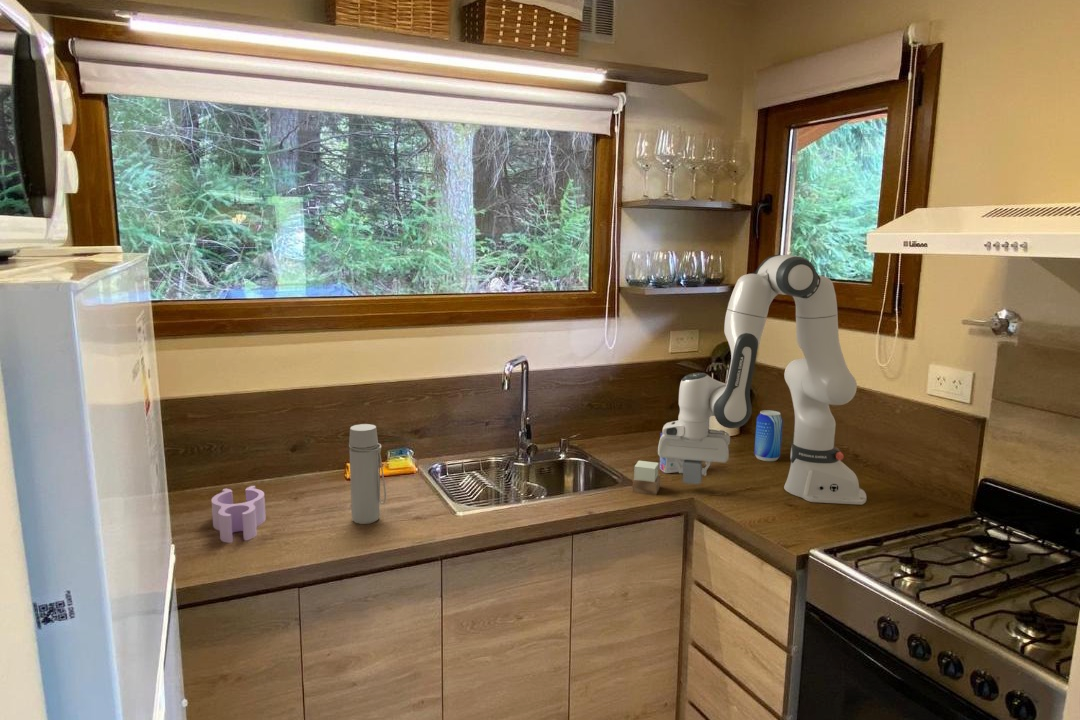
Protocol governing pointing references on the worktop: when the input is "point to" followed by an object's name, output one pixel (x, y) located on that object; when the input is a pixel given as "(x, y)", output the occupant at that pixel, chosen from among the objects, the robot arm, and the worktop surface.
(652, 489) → the tower base
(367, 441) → the water bottle
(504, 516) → the worktop surface
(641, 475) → the cream square block
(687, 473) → the grey block
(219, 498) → the clip
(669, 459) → the ink cartridge box
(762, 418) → the beer can
